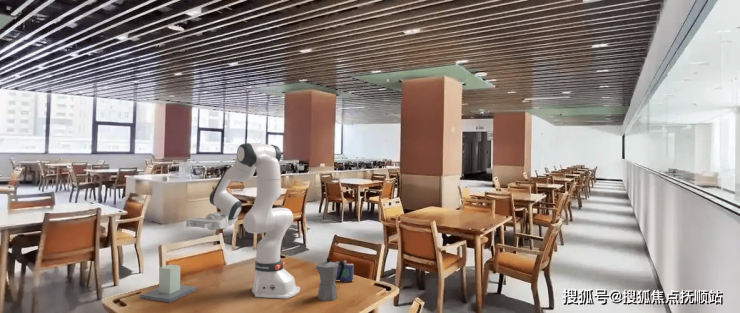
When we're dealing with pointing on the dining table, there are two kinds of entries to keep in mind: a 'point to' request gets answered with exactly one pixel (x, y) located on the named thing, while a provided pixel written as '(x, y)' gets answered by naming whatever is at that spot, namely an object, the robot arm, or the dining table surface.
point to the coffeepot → (328, 279)
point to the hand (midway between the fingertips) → (195, 225)
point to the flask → (346, 272)
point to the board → (168, 297)
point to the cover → (169, 279)
